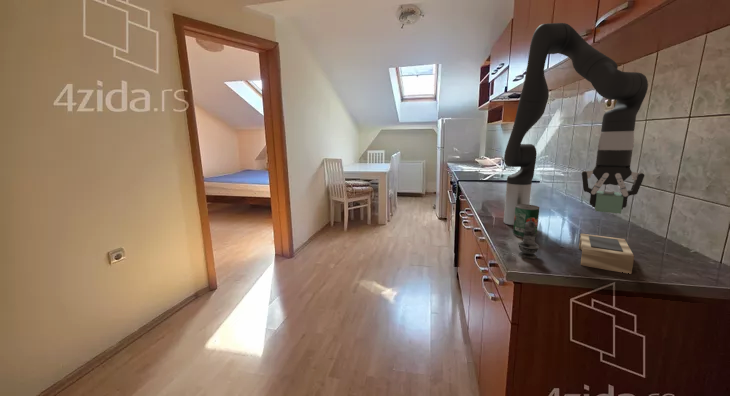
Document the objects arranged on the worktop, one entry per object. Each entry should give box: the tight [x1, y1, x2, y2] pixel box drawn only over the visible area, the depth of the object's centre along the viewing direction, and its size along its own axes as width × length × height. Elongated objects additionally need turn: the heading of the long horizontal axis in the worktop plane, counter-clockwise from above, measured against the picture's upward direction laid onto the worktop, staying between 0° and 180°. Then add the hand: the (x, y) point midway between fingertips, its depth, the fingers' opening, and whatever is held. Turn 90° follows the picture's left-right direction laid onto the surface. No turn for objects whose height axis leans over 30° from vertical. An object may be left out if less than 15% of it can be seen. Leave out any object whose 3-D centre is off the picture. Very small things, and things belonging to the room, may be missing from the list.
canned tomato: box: [512, 204, 540, 239], centre depth 111 cm, size 8×8×11 cm
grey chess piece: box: [517, 219, 540, 260], centre depth 92 cm, size 6×6×12 cm
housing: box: [593, 190, 623, 214], centre depth 85 cm, size 9×6×5 cm, turn 146°
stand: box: [578, 233, 635, 275], centre depth 89 cm, size 16×11×5 cm
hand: (606, 207), depth 86 cm, fingers closed on housing, 5 cm apart
